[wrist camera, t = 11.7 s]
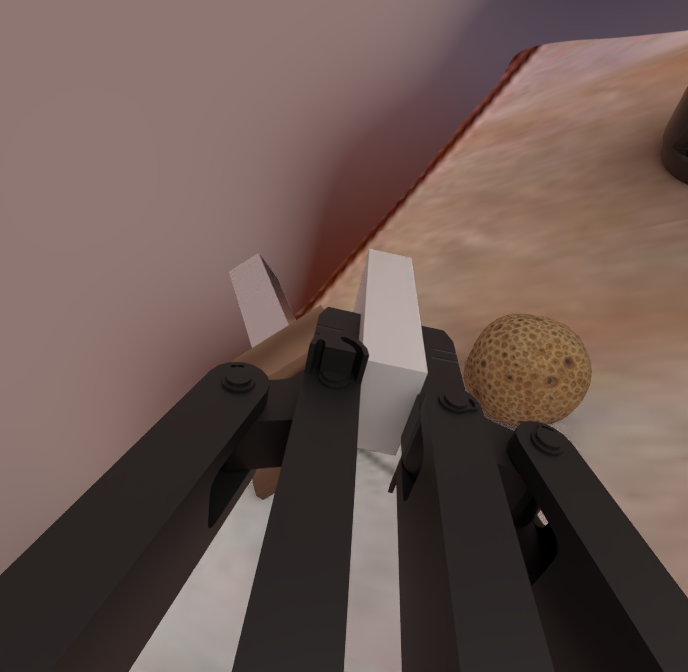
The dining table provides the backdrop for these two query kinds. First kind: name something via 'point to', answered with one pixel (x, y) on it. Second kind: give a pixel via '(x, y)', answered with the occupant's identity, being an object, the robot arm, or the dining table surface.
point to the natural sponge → (528, 370)
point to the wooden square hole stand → (281, 373)
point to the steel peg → (260, 299)
